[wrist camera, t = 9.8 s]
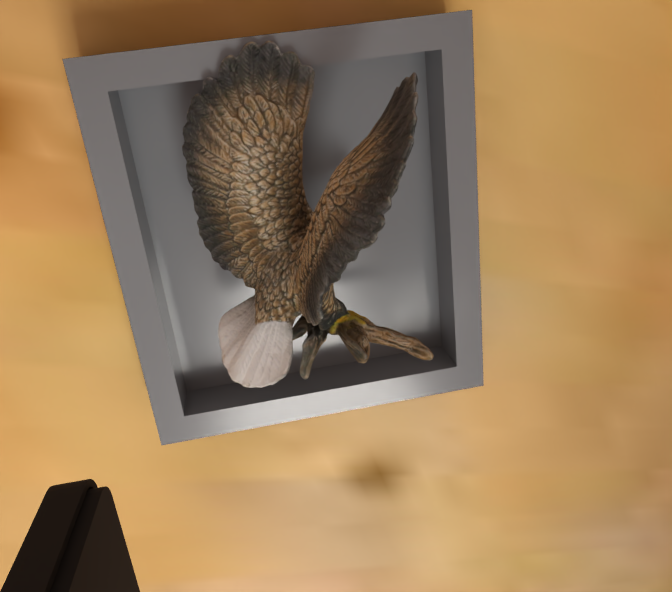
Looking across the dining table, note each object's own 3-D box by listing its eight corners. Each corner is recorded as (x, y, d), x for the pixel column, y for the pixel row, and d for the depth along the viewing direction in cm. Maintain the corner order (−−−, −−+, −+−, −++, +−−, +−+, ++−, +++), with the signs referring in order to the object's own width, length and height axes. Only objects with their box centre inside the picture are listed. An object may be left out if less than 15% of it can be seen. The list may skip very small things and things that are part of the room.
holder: (446, 14, 21) (471, 9, 19) (461, 357, 26) (483, 385, 24) (80, 58, 20) (62, 59, 18) (167, 410, 25) (161, 445, 23)
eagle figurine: (459, 272, 23) (460, 28, 17) (408, 443, 19) (383, 202, 12) (268, 246, 25) (203, 23, 19) (184, 391, 21) (62, 167, 15)
